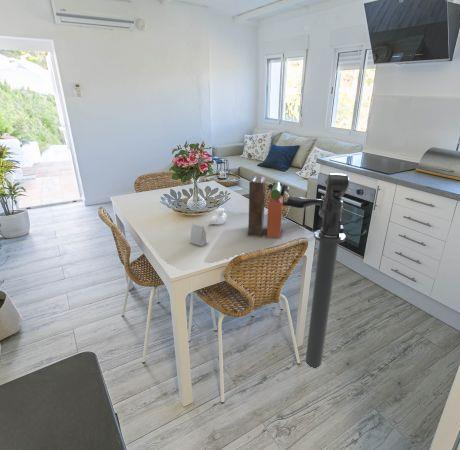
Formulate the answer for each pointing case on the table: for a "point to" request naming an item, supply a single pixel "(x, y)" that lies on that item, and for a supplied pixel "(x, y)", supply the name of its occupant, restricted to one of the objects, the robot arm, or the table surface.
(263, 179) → the post
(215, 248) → the table surface
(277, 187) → the bottle
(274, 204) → the bottle holder
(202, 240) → the grey tapered block
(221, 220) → the bust
